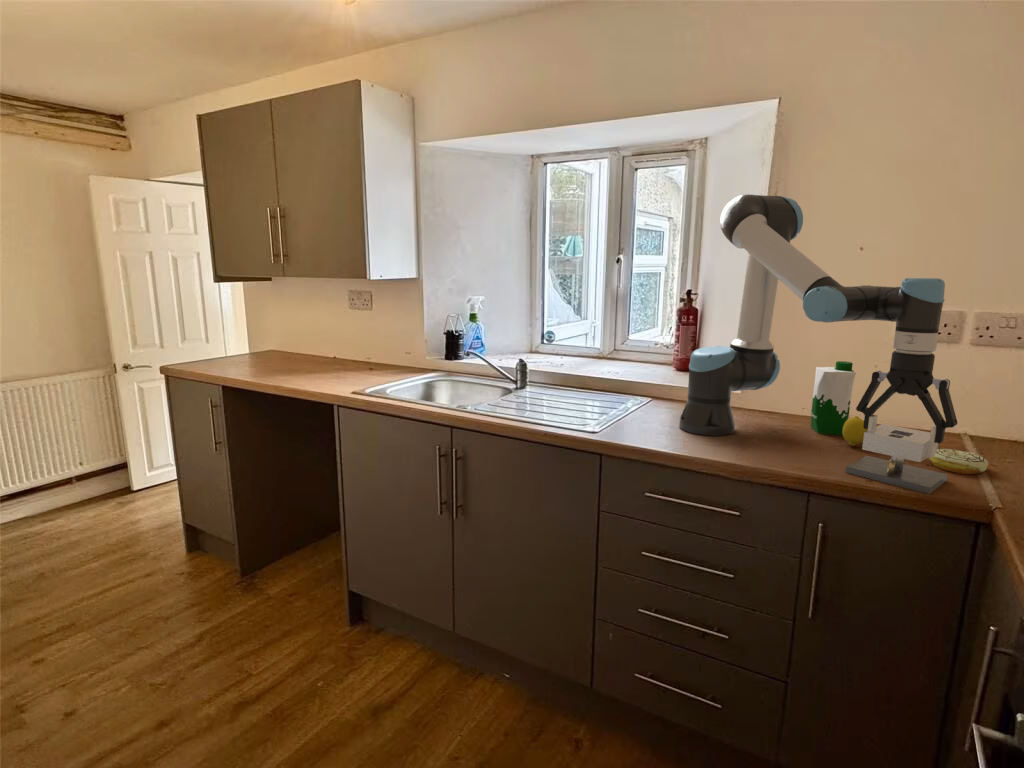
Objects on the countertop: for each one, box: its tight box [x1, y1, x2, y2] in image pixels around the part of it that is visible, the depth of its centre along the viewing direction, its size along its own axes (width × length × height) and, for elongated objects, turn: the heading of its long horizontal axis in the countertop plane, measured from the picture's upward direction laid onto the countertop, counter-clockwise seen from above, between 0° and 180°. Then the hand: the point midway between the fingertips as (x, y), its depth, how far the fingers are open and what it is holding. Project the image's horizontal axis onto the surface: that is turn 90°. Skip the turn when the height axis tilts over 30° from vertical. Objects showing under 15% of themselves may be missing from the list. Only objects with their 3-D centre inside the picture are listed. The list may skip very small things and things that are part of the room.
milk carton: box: [810, 360, 856, 436], centre depth 159 cm, size 9×9×20 cm
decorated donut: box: [929, 448, 989, 475], centre depth 131 cm, size 10×11×4 cm
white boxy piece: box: [861, 423, 939, 463], centre depth 124 cm, size 11×11×4 cm
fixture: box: [844, 455, 948, 495], centre depth 125 cm, size 16×12×7 cm
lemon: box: [842, 415, 868, 447], centre depth 147 cm, size 6×6×8 cm
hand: (899, 449), depth 125 cm, fingers closed on white boxy piece, 11 cm apart
